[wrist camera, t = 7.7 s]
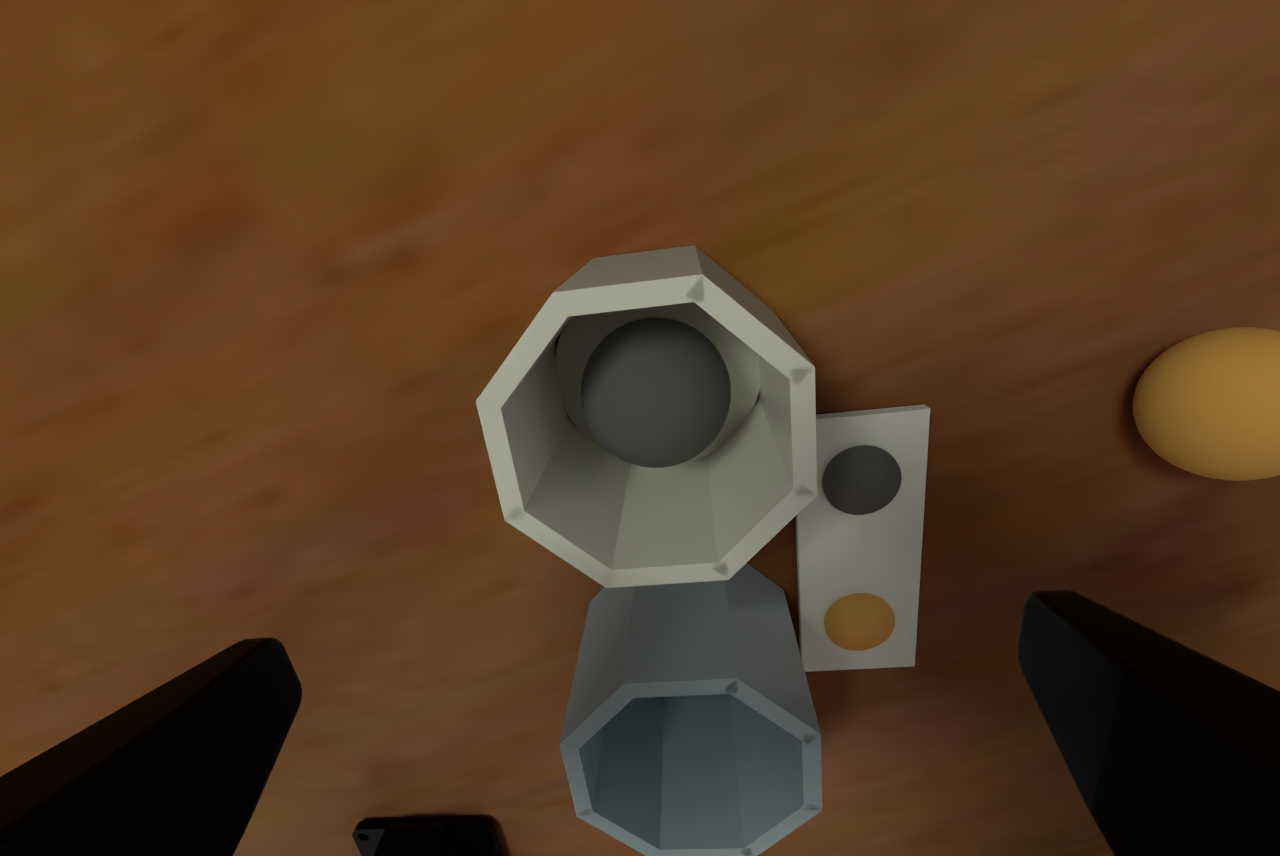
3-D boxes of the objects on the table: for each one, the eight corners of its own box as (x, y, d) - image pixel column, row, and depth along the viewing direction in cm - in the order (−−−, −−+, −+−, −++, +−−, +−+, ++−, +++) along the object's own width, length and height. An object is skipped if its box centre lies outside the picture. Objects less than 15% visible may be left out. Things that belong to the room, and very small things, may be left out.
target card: (910, 658, 22) (916, 669, 21) (800, 663, 22) (803, 674, 22) (924, 404, 18) (932, 410, 18) (791, 417, 18) (795, 423, 18)
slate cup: (788, 694, 23) (823, 858, 17) (609, 702, 23) (588, 861, 18) (781, 540, 20) (820, 674, 15) (581, 554, 21) (545, 687, 15)
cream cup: (777, 461, 19) (818, 574, 14) (566, 479, 20) (522, 593, 14) (768, 235, 16) (813, 260, 11) (525, 266, 17) (452, 304, 12)
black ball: (729, 427, 18) (744, 487, 14) (601, 439, 19) (584, 501, 15) (718, 296, 17) (733, 326, 13) (580, 313, 17) (556, 347, 13)
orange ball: (1230, 437, 18) (1374, 502, 14) (1089, 448, 18) (1193, 515, 15) (1265, 305, 16) (1437, 339, 13) (1111, 321, 17) (1233, 359, 13)
